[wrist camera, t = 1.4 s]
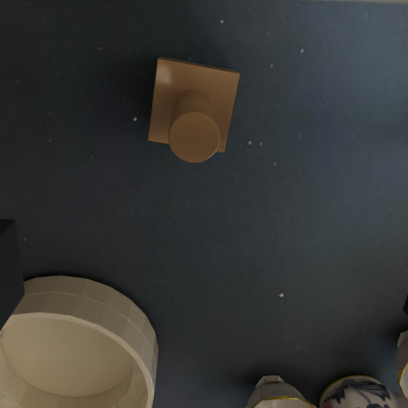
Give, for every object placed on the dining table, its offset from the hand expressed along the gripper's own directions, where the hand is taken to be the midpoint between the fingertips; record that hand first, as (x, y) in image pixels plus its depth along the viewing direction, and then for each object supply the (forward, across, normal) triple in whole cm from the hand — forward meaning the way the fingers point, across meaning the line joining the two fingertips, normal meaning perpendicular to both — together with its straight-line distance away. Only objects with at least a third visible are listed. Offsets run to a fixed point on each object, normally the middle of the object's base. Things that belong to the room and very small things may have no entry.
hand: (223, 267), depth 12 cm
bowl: (+23, -13, -25) cm, 36 cm away
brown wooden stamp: (+23, -1, +2) cm, 23 cm away
